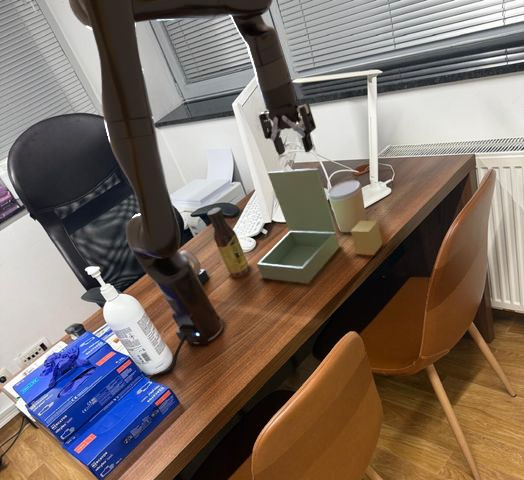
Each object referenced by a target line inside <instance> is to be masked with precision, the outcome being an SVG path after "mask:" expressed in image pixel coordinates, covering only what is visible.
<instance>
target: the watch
mask: <svg viewBox="0 0 524 480" xmlns="http://www.w3.org/2000/svg"><path fill="white" fill-rule="evenodd" d="M178 252H179V253H180V254H181V255H183V256H184V257H185V258H187V259H188V260H189V261H190V262H191V264H192V266H193V269H194V271H195V273H196V274H197V276H198V278H199V280H200V282H201V284H202V286H203V285H204V284H205V283H206V282H207V281H208V280H209V279H210V277H209V275H208V273H207V271H206V269H202V267H201V262H200V260H199V258H198V257H197V256H196V255H195V254H194V253H193V252H192V251H190V250H187V249H184V250H181V251H178Z"/></svg>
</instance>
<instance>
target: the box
mask: <svg viewBox="0 0 524 480" xmlns="http://www.w3.org/2000/svg"><path fill="white" fill-rule="evenodd" d="M339 249H340V243H339V239H338V235H337V232H336V231H335V232H334V231H305V230H288V232H287V233H286V234H285V235H284V236H283V237H282V238H281V239H280V240H279V241H278V242H277V243H276V244H275V245H274V246H273V247H272V248H271V249H270V250H269V251H267V253H266V254H265V255H264V256H263V257H262V258H261V259H260V260H259V262H257V263H256V267H257V268H258V270H259V274H260V276H261V278H262V279H268V280H278V281H284V282H291V283H293V282H294V283H300V284H309V283H310V282H311V281H312V279H313V278H314V277H315V276H316V275H317V274H318V273H319V272H320V270H321V269H322V268H323V267H324V266H325V265H326V263H328V261H329V260H330V259H331V258H332V256H333V255H334V254H335V253H336V252H337V251H338V250H339Z"/></svg>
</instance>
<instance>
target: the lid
mask: <svg viewBox="0 0 524 480" xmlns="http://www.w3.org/2000/svg"><path fill="white" fill-rule="evenodd" d="M319 170H320V169H319V168H311V167H309V168H308V167H307V168H295V169H289V170H275V171H268V173H267V175H268V177H269V181H270V183H271V186H272V188H273V192H274V194H275V196H276V199H277V202H278V205H279V207H280V210H281V213H282V216H283V217H284V220H285V224H286V226H287V229H288V231H312V232H336V231H337V228H336V223H335V221H334V218H333V213H332V211H331V207H330V204H329V199H328V196H327V194H326V190H325V186H324V183H323V181H322V176H321V174H320V171H319Z"/></svg>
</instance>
